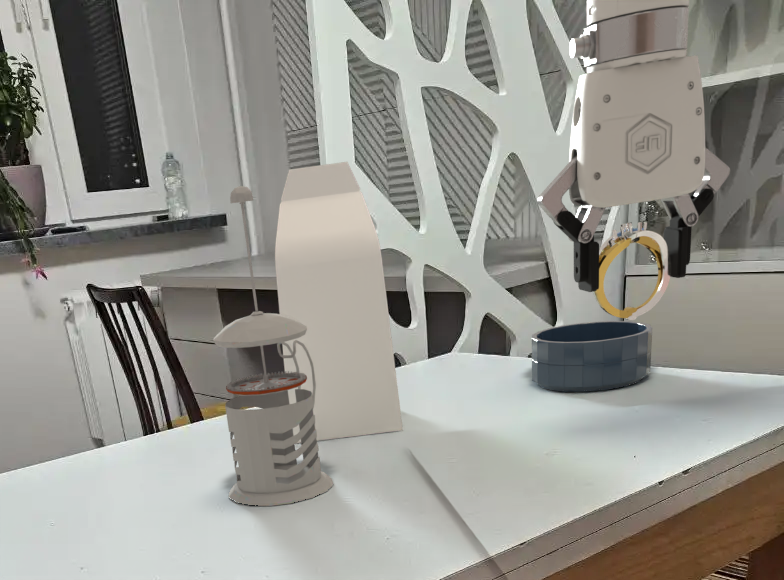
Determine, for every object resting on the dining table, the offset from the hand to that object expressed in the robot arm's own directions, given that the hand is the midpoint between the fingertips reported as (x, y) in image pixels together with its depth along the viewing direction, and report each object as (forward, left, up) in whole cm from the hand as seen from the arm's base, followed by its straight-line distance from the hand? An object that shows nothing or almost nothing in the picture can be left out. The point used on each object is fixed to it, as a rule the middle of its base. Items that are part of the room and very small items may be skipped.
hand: (631, 281), depth 80 cm
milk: (+25, -19, -14) cm, 34 cm away
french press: (+33, +1, -14) cm, 35 cm away
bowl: (-5, -24, -13) cm, 28 cm away
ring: (0, 0, -3) cm, 3 cm away
